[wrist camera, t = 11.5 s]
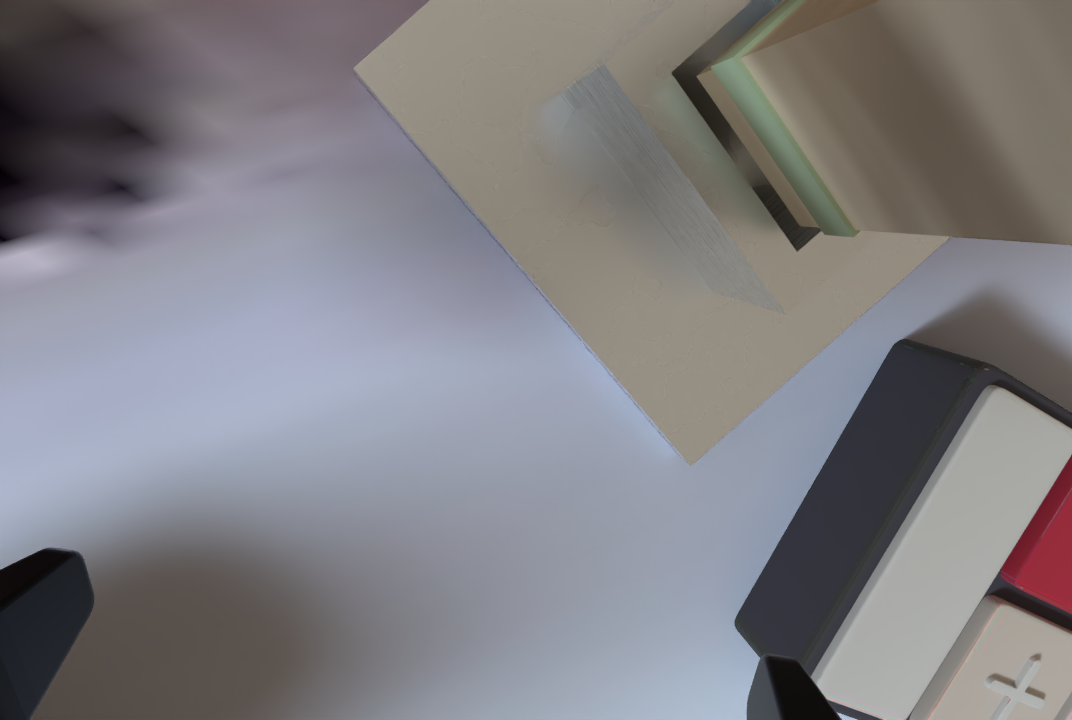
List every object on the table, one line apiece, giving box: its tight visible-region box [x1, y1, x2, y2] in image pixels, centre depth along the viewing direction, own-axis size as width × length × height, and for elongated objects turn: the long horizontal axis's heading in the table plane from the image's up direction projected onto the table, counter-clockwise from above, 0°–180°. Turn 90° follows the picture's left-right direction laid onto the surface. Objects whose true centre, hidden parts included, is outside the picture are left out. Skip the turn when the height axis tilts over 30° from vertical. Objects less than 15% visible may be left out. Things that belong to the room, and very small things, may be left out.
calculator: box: [735, 340, 1072, 720], centre depth 24 cm, size 11×4×15 cm
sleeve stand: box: [353, 0, 950, 466], centre depth 18 cm, size 14×14×6 cm
